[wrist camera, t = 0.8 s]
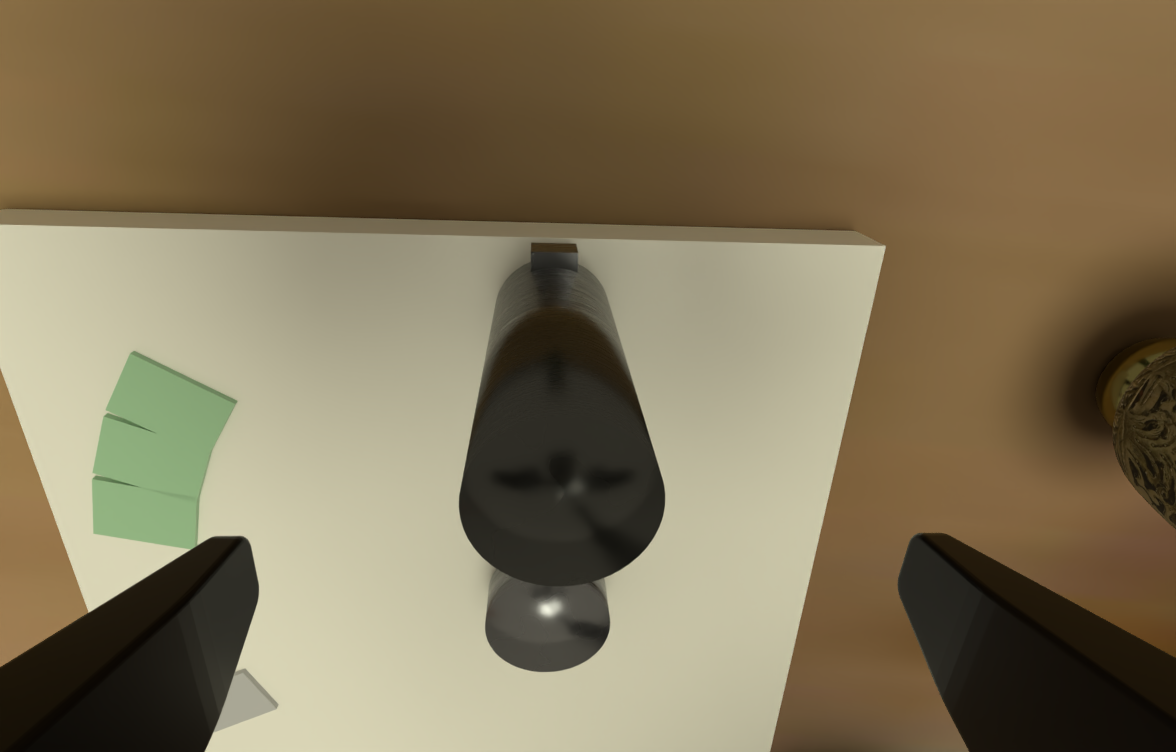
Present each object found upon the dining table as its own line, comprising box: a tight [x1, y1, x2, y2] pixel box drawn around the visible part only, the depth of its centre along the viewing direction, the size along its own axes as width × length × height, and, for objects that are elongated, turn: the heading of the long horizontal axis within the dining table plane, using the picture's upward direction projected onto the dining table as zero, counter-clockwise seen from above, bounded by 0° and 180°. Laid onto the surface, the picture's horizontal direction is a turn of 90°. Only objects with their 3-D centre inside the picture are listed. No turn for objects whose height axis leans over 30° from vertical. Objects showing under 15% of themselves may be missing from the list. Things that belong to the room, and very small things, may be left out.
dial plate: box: [0, 209, 886, 752], centre depth 23 cm, size 22×25×2 cm
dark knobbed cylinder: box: [459, 243, 665, 672], centre depth 16 cm, size 14×4×9 cm, turn 178°
